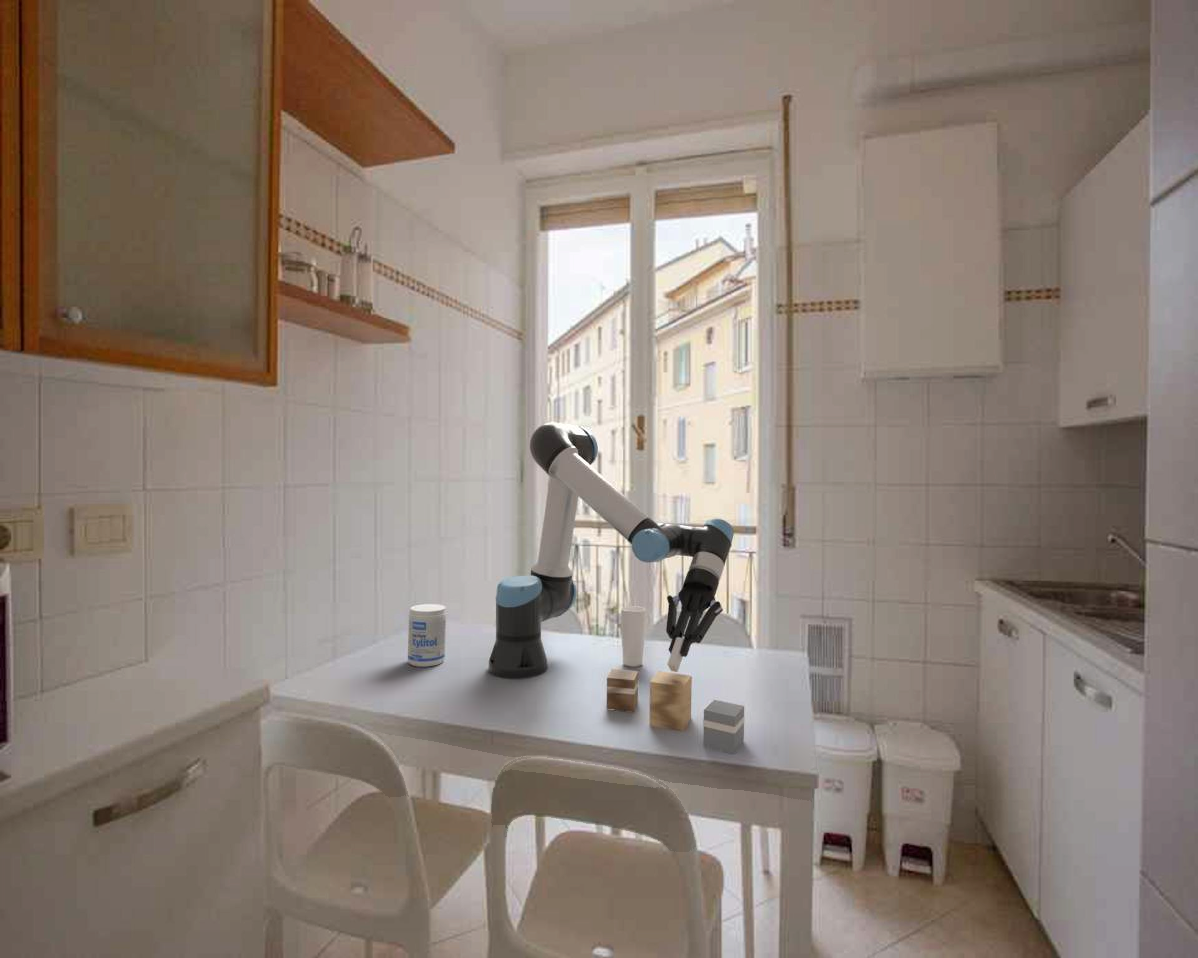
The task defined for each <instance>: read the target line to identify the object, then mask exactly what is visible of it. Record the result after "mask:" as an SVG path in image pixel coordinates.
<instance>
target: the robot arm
mask: <svg viewBox="0 0 1198 958" xmlns="http://www.w3.org/2000/svg"><path fill="white" fill-rule="evenodd" d="M598 449H599V448H598V442H597V439H596V437H595V436H594V435H593V433H592V432H591V431H590V430H588V429H587V428H585V427H583V426H578V425H574V424H565V423H559V422H547V423H544V424H542V425H540V426H539V427H537V428H536V429H535V431H534V432H533V433H532V436H531V438H530V442H529V450H530V454H531V456H532V459H533V460H534V462H535V463H536V464H537V465H538V466H539V467H540V468H541V469H542V470H543V471H544V472H545V473H546V474H547V476H548V478H549V481H548V488H547V493H546V502H545V510H544V515H543V521H542V529H541V538H540V544H539V549H538V559H537V562H536V563H535V564H534V565H531V569H530V574H529V575H527V574H526V575H518V576H510V577H507V578H504V579H503V580H501V581H500V582H499V583H498V584H497V588H496V595H495V604H496V605H495V642H494V645H493V648H492V651H491V654H490V657H489V660H488V672H489V673H490V674H491V675H493V676H497V677H500V678H503V679H504V678H505V679H526V678H532V677H536V676H539V675H542V674H544V673H545V672H547V670H548V658H547V655H546V652H545V648H544V644H543V642H542V622H544V621H547V620H551V619H553V618H558V617H560V616H562V615H564V614H565V613H567V612H568V611H569V610H571V608H572V607H573V605H574V604H575V602H576V600H577V585H576V584H575V583H574V579H573V570H571V568H570V567H569V565H570V564H569V562H570V557H571V549H572V544H573V543H572V541H573V535H574V529H575V521H576V516H577V510H578V509H577V508H578V502H579V499H580V500H582V501H583V502H584V503H585V504H586V505H587V506H588V507H590V508H591V509H592V510H593V511H594V512H595V513H596V514H597V515H598V516H600V518H602V519H603V520H604V521H605V522H606V524H608V525H610V526H611V527H612V528H613V529H614V530H615V531H616V532H617V533H618V534H619V535H620V536H621V537H623V538H624V539H625V540H626V541H627V542H628V543H629V544H631V549H632V552H633V554H634V557H635V558H637V559H638V560H639V561H640V562H642V563H646V564H647V563H658V562H661V561H663V560H664V559H668V558H672V557H675V556H681V557H683V556H684V557H691V562H690V564H689V567H688V571H687V573H686V576H685V579H684V581H683V584H682V585H683V586H682V588H681V590H680V591H678V594H676V595H674V596H672V595H668V596H667V597H666V600H667V602H668V608H667V620H666V629H665V631H666V634H667V636H668V638H669V639H671V642H670V645H669V647H668V651H669V653H670V656H669V657H668V661H667V666H668V668H669V670H670V671H671V672H673V673H675V672H676V673H678V672H679V669H680V666H681V663H682V660H683V657H684V658H686V657H687V656H688V655H689V651H690V648H691V645H692V644H695V643H696V644H700V643H702V641H703V640H704V638H705V636H706V634H707V632H708V631H709V629H710V628H711V626H712V624H713V622H714V621H715V619H716V617H717V616H719V615H720V614H721V613H723V610H724V609H723V607H722V604H721V602H720V601H718V600H716V597H715V596H716V594H717V591H718V589H719V584H720V580H721V578H722V575H723V571H724V568H725V565H726V562H727V559H728V556H729V553H730V550H731V548H732V544H733V543H732V542H733V538H734V535H735V533H734V532H735V531H734V528H733V526H732V525H731V524H730V523H729V522H728V521H726V520H725V519H722V518H718V517H715V518H711V519H708V520H707V521H705V523H704V524H703V526H691V525H684V524H675V523H671V522H665V523H663V522H662V523H661V522H658V523H656V522H655V520H652V519H651V518H650V517H649V515H648V514H647V513H645V512H644V511H642V510H641V509H640V508H639V507H638V506H637V505H636V504H635V503H633V502H632V501H631V500H630V499H629V498H628V497H627V496H625V495H624V494H623V493H622V492H621V491H620V490H619V489H618V488H616V486H614V485H613V484H612V483H611V482H610V481H608V479H606V478H605V477H603V475H602V474H600V473H599V472H598V471H597V470H596V469H594V468H593V467H592V466H591V465H592V464H593V463H595V461H596V459H597V457H598V451H599V450H598ZM679 602H680V603H681V609H680V610H681V611H680V613H679V616H678V619H677V615H678V614H677V613H678V608H677V607H679ZM706 610H707V611H706ZM705 611H706V612H705ZM704 612H705V614H704Z"/></svg>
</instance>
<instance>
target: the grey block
mask: <svg viewBox="0 0 1198 958" xmlns="http://www.w3.org/2000/svg"><path fill="white" fill-rule="evenodd" d="M702 727H703V728H702V729H703V730H702V731H703V736H702V737H703V738H702V739H703V740H702V744H703V746H702V747H704V748H707V747H709V748H708V749H711V748H712V749H711V750H715V749H717V750H716V751H719V750H721V751H720V752H723V753H727V754H731V755H735V754H736V753H737V752H738V750H739V749H740V747H741V746H742V745H743V743H744V739H745V733H744V732H745V705H741V704H737V703H733V702H726V701H722V700H717V699H713V700H712V701H711V702H710V703H709V704H708V705H707V706H706V707H705V708H704V709H703V722H702Z"/></svg>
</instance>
